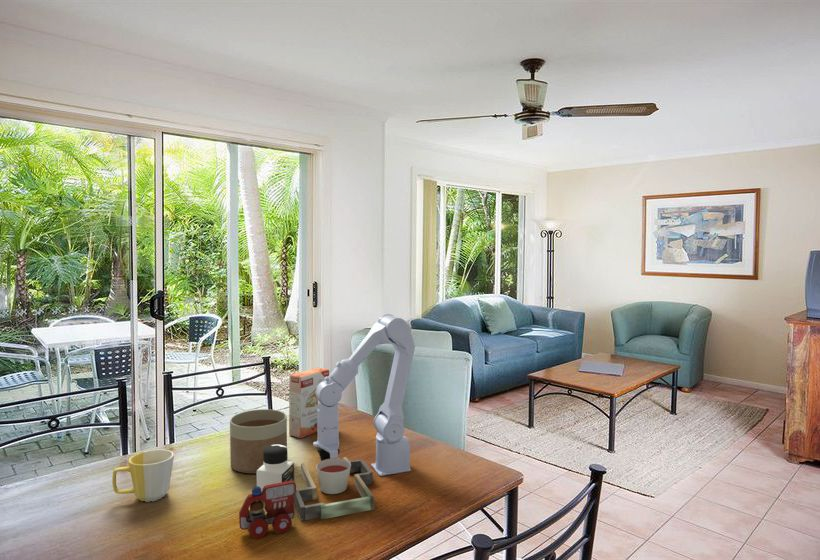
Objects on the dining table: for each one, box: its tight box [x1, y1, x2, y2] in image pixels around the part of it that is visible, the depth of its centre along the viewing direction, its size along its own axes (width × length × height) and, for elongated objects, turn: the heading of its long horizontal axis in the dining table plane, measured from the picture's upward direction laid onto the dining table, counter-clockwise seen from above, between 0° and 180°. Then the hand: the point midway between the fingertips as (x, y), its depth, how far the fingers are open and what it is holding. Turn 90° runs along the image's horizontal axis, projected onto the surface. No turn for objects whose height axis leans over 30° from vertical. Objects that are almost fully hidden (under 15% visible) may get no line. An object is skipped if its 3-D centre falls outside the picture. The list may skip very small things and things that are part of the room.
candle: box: [315, 457, 351, 495], centre depth 138 cm, size 9×9×6 cm
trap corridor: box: [294, 456, 375, 521], centre depth 137 cm, size 22×26×3 cm
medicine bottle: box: [256, 444, 295, 492], centre depth 135 cm, size 7×7×12 cm
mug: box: [111, 448, 175, 503], centre depth 132 cm, size 14×10×10 cm
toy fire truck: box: [238, 480, 297, 539], centre depth 118 cm, size 7×12×10 cm, turn 112°
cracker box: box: [288, 367, 330, 439], centre depth 179 cm, size 14×6×21 cm, turn 147°
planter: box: [229, 408, 288, 474], centre depth 153 cm, size 16×16×14 cm
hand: (328, 474), depth 144 cm, fingers closed
